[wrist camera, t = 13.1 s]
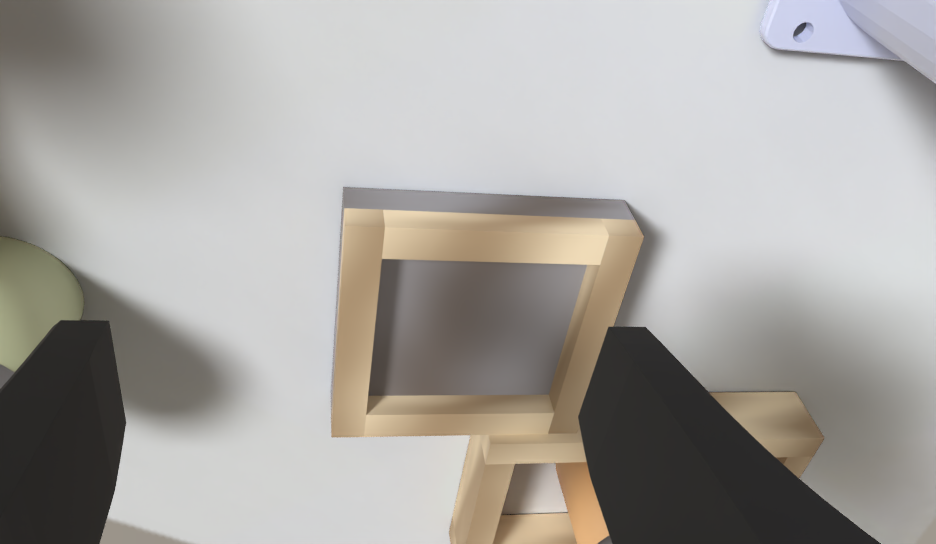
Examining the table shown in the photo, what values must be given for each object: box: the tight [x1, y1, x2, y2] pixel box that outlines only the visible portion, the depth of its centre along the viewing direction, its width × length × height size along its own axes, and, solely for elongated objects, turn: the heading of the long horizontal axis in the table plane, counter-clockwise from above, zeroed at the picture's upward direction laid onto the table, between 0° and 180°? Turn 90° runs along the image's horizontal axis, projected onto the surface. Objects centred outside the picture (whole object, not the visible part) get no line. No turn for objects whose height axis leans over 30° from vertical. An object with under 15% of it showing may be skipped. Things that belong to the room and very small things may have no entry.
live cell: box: [556, 462, 612, 544], centre depth 29 cm, size 4×4×5 cm
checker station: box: [331, 187, 824, 544], centre depth 27 cm, size 17×16×2 cm
